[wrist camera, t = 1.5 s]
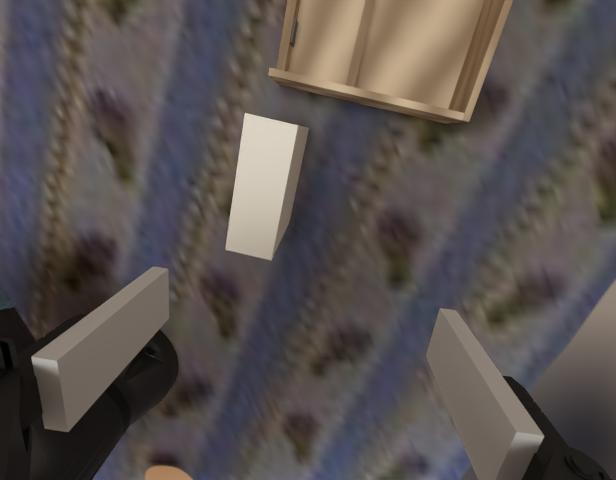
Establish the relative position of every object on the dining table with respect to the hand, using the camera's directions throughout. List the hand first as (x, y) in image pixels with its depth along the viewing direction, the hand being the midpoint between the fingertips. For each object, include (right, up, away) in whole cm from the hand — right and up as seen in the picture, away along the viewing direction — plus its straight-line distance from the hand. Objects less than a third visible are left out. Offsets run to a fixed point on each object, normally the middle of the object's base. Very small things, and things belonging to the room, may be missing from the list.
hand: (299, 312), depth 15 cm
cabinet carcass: (+8, +25, +16) cm, 31 cm away
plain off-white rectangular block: (-3, +11, +21) cm, 24 cm away
